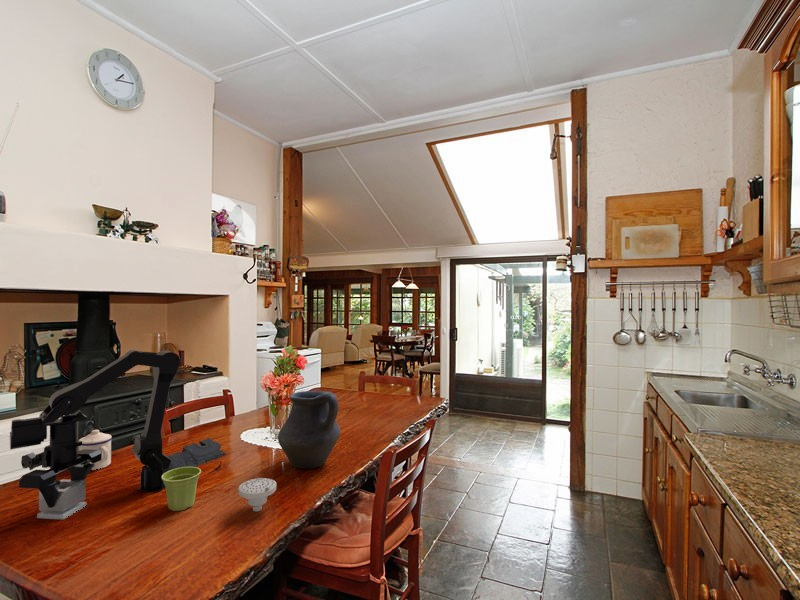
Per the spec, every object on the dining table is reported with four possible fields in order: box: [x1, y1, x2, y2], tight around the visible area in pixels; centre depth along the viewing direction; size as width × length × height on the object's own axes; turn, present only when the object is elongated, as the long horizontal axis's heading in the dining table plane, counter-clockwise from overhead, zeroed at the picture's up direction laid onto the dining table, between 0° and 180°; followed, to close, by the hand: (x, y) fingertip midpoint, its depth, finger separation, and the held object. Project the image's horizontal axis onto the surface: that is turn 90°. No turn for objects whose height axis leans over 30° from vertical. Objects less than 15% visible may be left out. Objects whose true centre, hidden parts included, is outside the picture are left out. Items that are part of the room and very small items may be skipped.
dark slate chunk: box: [166, 437, 227, 471], centre depth 145 cm, size 15×22×5 cm
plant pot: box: [162, 467, 202, 512], centre depth 112 cm, size 9×9×9 cm
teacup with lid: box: [78, 429, 113, 471], centre depth 137 cm, size 12×9×12 cm
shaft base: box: [36, 501, 88, 520], centre depth 108 cm, size 7×7×6 cm
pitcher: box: [277, 390, 341, 470], centre depth 142 cm, size 21×22×25 cm
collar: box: [38, 479, 87, 512], centre depth 108 cm, size 7×7×5 cm
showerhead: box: [238, 477, 277, 512], centre depth 111 cm, size 9×7×10 cm
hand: (63, 500), depth 108 cm, fingers closed on collar, 7 cm apart
